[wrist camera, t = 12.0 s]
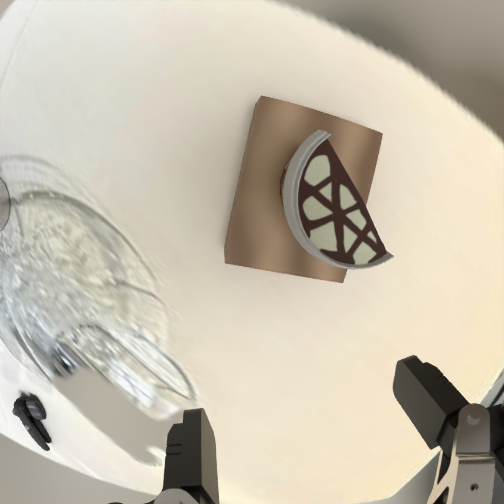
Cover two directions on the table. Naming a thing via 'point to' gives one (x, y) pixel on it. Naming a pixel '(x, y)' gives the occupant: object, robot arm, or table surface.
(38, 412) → the can opener
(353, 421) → the table surface
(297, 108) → the brown wooden block
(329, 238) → the half-round tin
